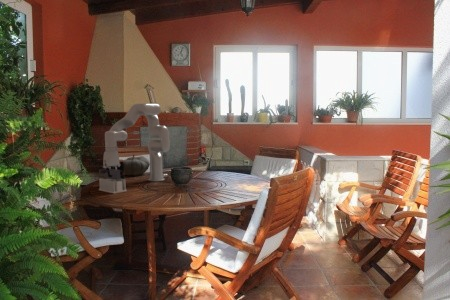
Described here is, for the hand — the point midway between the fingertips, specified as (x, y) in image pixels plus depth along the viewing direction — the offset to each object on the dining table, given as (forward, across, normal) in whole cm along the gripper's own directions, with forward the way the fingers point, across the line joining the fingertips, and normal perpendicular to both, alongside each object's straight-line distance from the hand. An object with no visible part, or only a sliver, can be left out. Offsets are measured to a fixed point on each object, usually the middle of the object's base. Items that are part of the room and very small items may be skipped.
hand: (112, 176), depth 277 cm
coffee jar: (+10, -15, -17) cm, 25 cm away
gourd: (+10, -51, -45) cm, 69 cm away
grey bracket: (+1, +2, 0) cm, 3 cm away
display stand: (+10, 0, 0) cm, 10 cm away
